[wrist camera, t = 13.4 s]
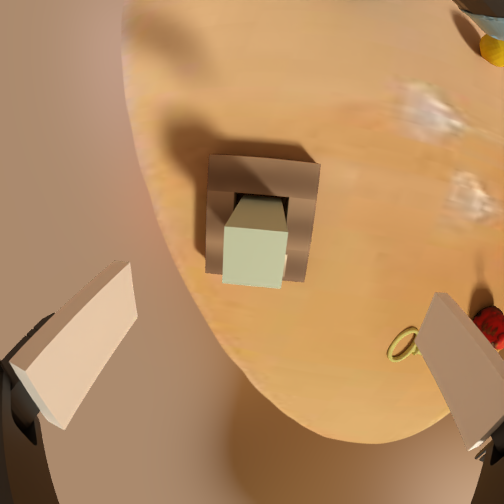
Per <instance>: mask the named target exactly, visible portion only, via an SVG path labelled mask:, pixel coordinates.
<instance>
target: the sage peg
mask: <svg viewBox="0 0 504 504" xmlns="http://www.w3.org/2000/svg"><path fill="white" fill-rule="evenodd" d="M287 238H288V229H287V224H286V219H285V214H284V210H283V205H282V200H281V198H273V197H262V196H251V195H243V196H242V198H241V200H240V201H239V203H238V205H237V206H236V208H235V210H234V211H233V213H232V215H231V216H230V218H229V220H228V221H227V223H226V225H225V226H224V248H223V276H222V283H227V284H236V285H246V286H257V287H267V288H278V289H281V284H282V277H283V270H284V262H285V254H286V246H287Z"/></svg>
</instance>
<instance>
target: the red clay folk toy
mask: <svg viewBox="0 0 504 504" xmlns="http://www.w3.org/2000/svg"><path fill="white" fill-rule="evenodd" d="M473 323H474V324H475V325H476V326H477V327H478V329H479V330H480V331H481V332H482V333H483V335H484V336H485V337H486V338H487V340H488V341H489V342H490V343H491V345H492V346H493V347H494V348H495V349H497V350H502V349H503V348H504V315H503V313H502V311H501V310H500V309H499V308H497V307H496V306H491V307H487V308H484V309H483V310H481V311H480V312H479V315H478V316H477V315H476V317H475V318H474V320H473Z"/></svg>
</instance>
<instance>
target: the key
mask: <svg viewBox="0 0 504 504" xmlns="http://www.w3.org/2000/svg"><path fill="white" fill-rule="evenodd" d="M418 332H419V331H418V329H416V328H414V327H412V328H408V329H406V330H405V331H403V332H402V333H400V334H399V335H398V336H397V337H396V338H395V340H394V341H393V342H392V344H391V345H390V347H389V349H388V352H387V357H388V359H389V360H390V361H392V362H399V361H402V360H403V359H405V358H406V357H407V356H409V355H410V354H411V352H412V354H413V355H417V354H419V355H421V356H422V354H421V353H420V351H419V349H418V347H417V346H416V344H415V342H414V341H415V338H416V336H417V334H418ZM410 333H415V334H416V335H415V338H414V340H413V342H412V344H411V345H410V346H409V347H408V349H407V350H406V351H405V352H404V353H402V354H401V355H399V356H397V357H393V356H392V352H393V350H394V348H395V346H396V345H397V343H398V342H399V341H400V340H401V339H402V338H403V337H405V336H406V335H408V334H410Z"/></svg>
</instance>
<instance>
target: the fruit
mask: <svg viewBox="0 0 504 504" xmlns="http://www.w3.org/2000/svg"><path fill="white" fill-rule="evenodd" d="M479 46H480V53H481V56H482V57H483V58H484V59H486V60H487V61H488V62H489V63H491V64H493V65H495V66H498V67H504V41H502V40H498V39H495V38H493V37H491V36H489V35H488V34H486V35H484V36H483V37H482V38H481V40H480V44H479Z"/></svg>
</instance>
